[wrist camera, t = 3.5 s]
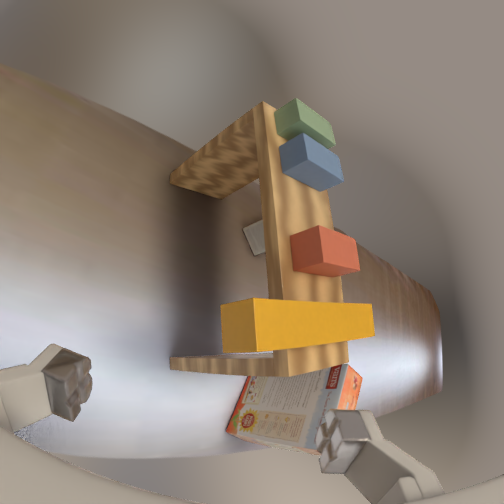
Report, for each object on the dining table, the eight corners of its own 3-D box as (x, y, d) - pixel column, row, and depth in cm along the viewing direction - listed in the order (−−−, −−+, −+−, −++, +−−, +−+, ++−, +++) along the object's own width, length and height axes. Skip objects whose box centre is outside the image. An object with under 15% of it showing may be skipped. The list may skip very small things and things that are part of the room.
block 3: (293, 271, 34) (323, 262, 31) (289, 235, 35) (318, 224, 32) (333, 277, 39) (360, 270, 36) (329, 247, 40) (355, 239, 37)
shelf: (170, 369, 46) (289, 377, 29) (170, 174, 55) (262, 100, 39) (229, 365, 54) (349, 362, 37) (221, 190, 63) (316, 135, 47)
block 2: (282, 173, 37) (308, 159, 34) (278, 146, 38) (303, 132, 35) (320, 192, 42) (344, 181, 40) (316, 167, 43) (338, 156, 41)
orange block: (222, 353, 25) (257, 352, 22) (220, 304, 26) (253, 297, 23) (347, 339, 38) (375, 335, 35) (344, 309, 39) (371, 303, 36)
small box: (264, 218, 70) (310, 198, 61) (275, 244, 71) (323, 227, 62) (241, 228, 65) (289, 206, 56) (253, 256, 65) (303, 238, 56)
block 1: (276, 134, 39) (300, 119, 36) (273, 112, 40) (295, 97, 37) (313, 156, 44) (335, 145, 41) (309, 135, 45) (330, 123, 42)
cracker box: (246, 441, 51) (343, 460, 37) (223, 431, 48) (323, 452, 34) (270, 378, 59) (365, 377, 45) (251, 365, 57) (349, 362, 43)
